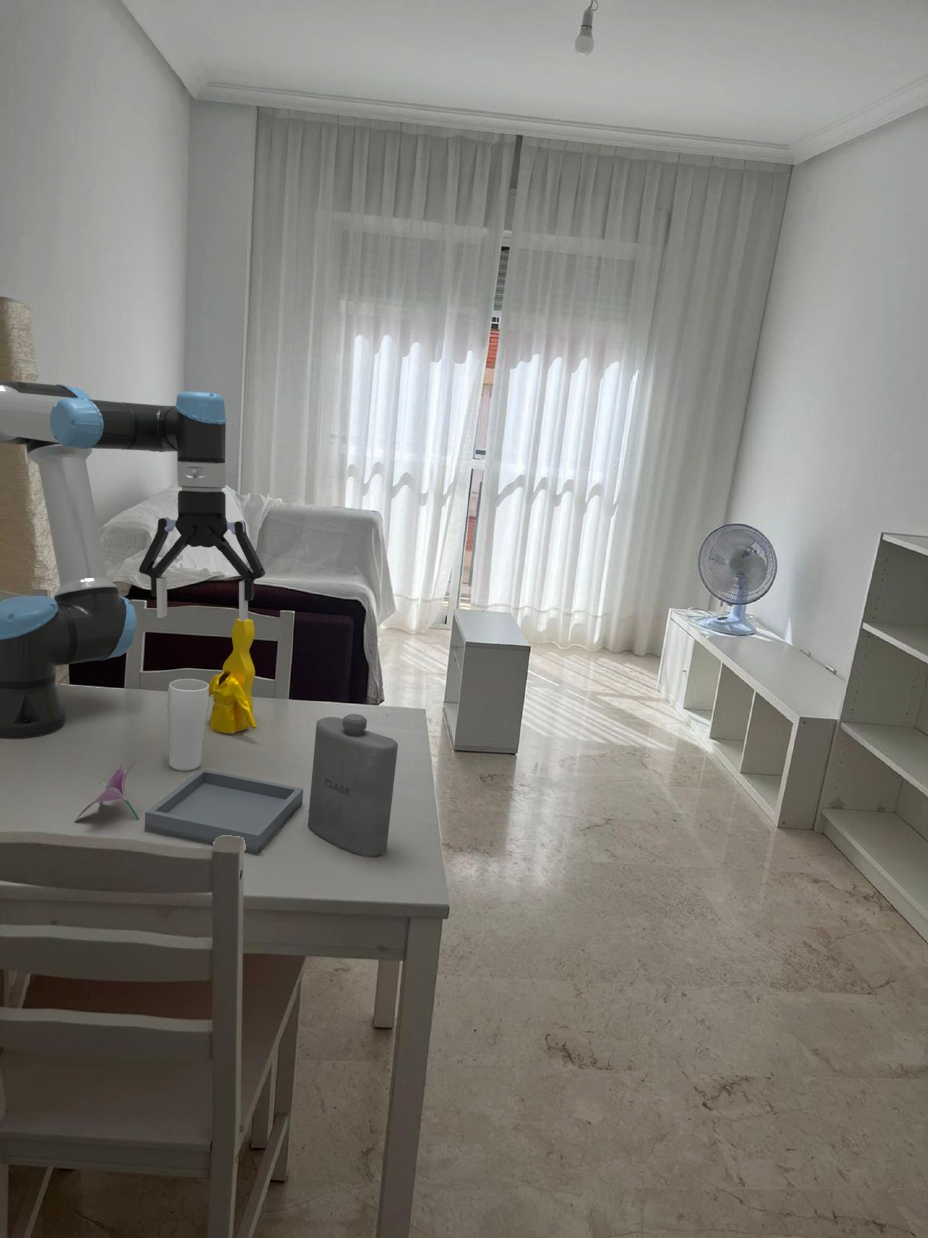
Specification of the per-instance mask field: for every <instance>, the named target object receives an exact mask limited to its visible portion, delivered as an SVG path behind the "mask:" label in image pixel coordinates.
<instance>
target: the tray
mask: <svg viewBox="0 0 928 1238" xmlns="http://www.w3.org/2000/svg"><path fill="white" fill-rule="evenodd" d="M303 797H304V788H303V787H296V786H292V785H289V784H288V785H287V784H283V783H278V782H272V781H268V780H262V779H257V778H251V777H246V776H242V775H237V774H236V775H235V774H231V773H226V772H221V771H217V770H211V769H205V768H200V769H199V770H198V771H196V772H195V773H194V774H192V775H191V776H190V777H189V778H187V779H186V780H185V781H183V782H182V783H181V784H180V785H179V786H177V787H175V789H173V790H172V791H170V792H169V793H168V794H167V795H166V796H164V797H163V798H162V799H160V800H159V801H158V802H157V803H155V804H154V805H152V806H151V807H149V809H148V810H146V811H144V831H145V832H149V833H154V834H158V835H164V836H168V837H174V838H177V839H183V840H188V841H193V842H197V843H202V844H205V845H206V844H207V845H210V844H211V846H214V845H213V842H214V841H215V839H216V838H217V837H218V836H221V835H232V836H240V837H243V838H244V840H245V844H246V850H245V852H244V853H249V854H252V855H253V854H254V855H259V854H260V852H261V851H262V850H264V848H265V847H266V846H267V845H268V844H269V842H271V840H272V839H273V838H274V837H276V835H277V834H278V833H279V832H280V831H281V829H283V828H284V826H285V825H286V824H287V823H288V821H290V819H291V818H292V817H293V816H294V815H295V814H296V813H297V812H298V811H299V810H300V808H301V807H302V806H303V799H304V798H303Z"/></svg>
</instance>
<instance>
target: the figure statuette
mask: <svg viewBox="0 0 928 1238" xmlns="http://www.w3.org/2000/svg"><path fill="white" fill-rule="evenodd" d="M254 623H255V622H254V620H253V619H250V618H248V619H246V620H245V621H239V618H236V620H235V621H234V623H233V626H232V630H231V639H232V646H233V647H232V648H233V650H232V652H231V653H230V655H229V656H228V657H227V658H226V660H225V661H224V663H223V665H222V672H221V674H220V673H217V674H216V675H214V676H213V677H212V678H211V680H210V682H209V683H208V685H209V698H210V697H211V696H212V698H213V705H212V709H211V714H210V719H209V729H210V730H211V729H212V730H211V731H213V730H214V732H217V733H224V734H234V733H236V732H239V731H244V730H248V729H249V728H250V727H251V729H254V730H255V729H256V728H257V724H256V720H255V716H254V714H253V713H254V705H253V698H252V687H253V685H254V680H255V677H256V676H255V675H256V670H255V669H256V668H255V665H254V663H253V659H252V657H251V653H250V649H251V646H252V644H253V642H254V639H255V635H256V634H255V633H256V632H255V625H254Z"/></svg>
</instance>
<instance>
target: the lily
mask: <svg viewBox="0 0 928 1238" xmlns="http://www.w3.org/2000/svg"><path fill="white" fill-rule="evenodd" d="M142 757H143V755H142V756H141V755H140V757H139V758H137V759H136V760H135V761H134V762H133V763H131V765H130V766H128V767H126V768H124V764H122V765H121V766H120V767H119V768H118V769H117V770H116V771H115V772H114V773H113V774H112V775H111V777H109V779H108V780H102V781H101V782H100V783H99V785H104V786H105V790H104V791H102V793H100V794H99V796H98V797H97V798H95V799H94V801H92V802H90V803H89V804H88V805H87V806H86V807H85V808H84V809H83V810H82V811H81V812H80V813H79V815H78V816H77V818H76V819H75V820H74V822H77V821H78V819H79V818H80V817H81V816H82V815H83V814H84V813H86V811H87V810H88V809H90V808H91V807H93V805H95V804H97V803H98V805H99V806H102V804H103V803H104V802H110V801H118V800H123V801H124V802H125V803H126V804H127V806H128V807H129V809H130V810H131V812H132V813H133V815H134V817H135V818H136V820H137V821H138V820H140V818H139V817H138V815H137V812H135V810H134V808H133V806H132V805H131V803H130V802H129V801H128V800H127V798H126V797H125V784H126V780H127V776H128V774H129V772H130V771H131V769H132V768H133V767H134V766H135V764H136V763H137V762H138V761H139V760H140V759H141V758H142Z"/></svg>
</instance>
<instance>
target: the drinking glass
mask: <svg viewBox="0 0 928 1238" xmlns="http://www.w3.org/2000/svg"><path fill="white" fill-rule="evenodd" d="M209 701H210V697H209V683H207V681H204V680H201V679H194V678H182V679H180V678H179V679H175V680H172V681H170V682H169V683H168V692H167V727H168V728H167V729H168V750H169V751H168V752H169V753H168V754H169V756H168V763H169V766H170V767H171V768H172V769H174V770H176V771H181V772H182V771H186V772H187V771H194V770H196V769H198V768H199V767H200V766H201V764H202V752H203V745H204V738H205V731H206V724H207V719H208V711H209Z"/></svg>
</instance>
